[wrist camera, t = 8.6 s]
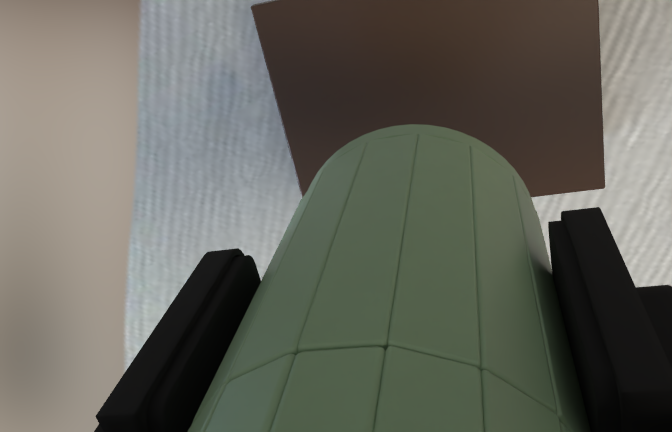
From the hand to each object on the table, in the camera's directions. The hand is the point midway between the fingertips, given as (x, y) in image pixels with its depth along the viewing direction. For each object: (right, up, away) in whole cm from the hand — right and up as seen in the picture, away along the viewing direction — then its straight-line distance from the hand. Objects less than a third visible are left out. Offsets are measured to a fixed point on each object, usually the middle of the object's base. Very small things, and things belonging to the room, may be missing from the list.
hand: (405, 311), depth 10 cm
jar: (0, +1, +2) cm, 3 cm away
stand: (+3, +7, +13) cm, 15 cm away
